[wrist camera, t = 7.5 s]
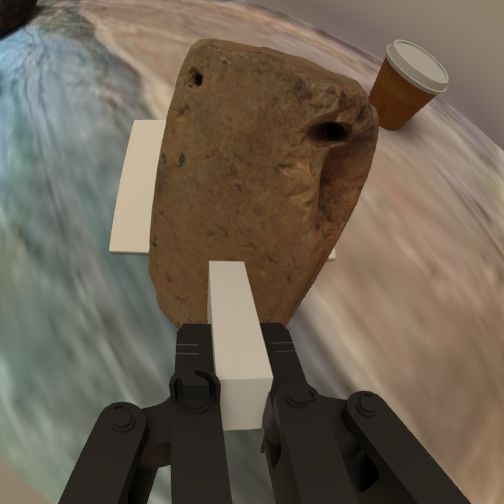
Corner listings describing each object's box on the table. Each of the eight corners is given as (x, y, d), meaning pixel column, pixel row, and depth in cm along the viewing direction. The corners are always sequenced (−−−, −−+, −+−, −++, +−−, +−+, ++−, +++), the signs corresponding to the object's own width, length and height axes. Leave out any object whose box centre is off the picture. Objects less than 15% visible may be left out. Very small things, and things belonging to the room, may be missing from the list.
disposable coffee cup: (342, 100, 40) (377, 39, 29) (377, 87, 43) (411, 36, 32) (388, 147, 38) (435, 91, 27) (418, 129, 41) (460, 81, 30)
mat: (316, 135, 36) (317, 132, 36) (333, 260, 31) (335, 258, 31) (135, 123, 33) (134, 120, 32) (110, 252, 28) (109, 250, 27)
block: (138, 294, 25) (166, 27, 11) (199, 253, 30) (260, 36, 16) (237, 385, 22) (400, 124, 8) (289, 327, 27) (423, 113, 13)
